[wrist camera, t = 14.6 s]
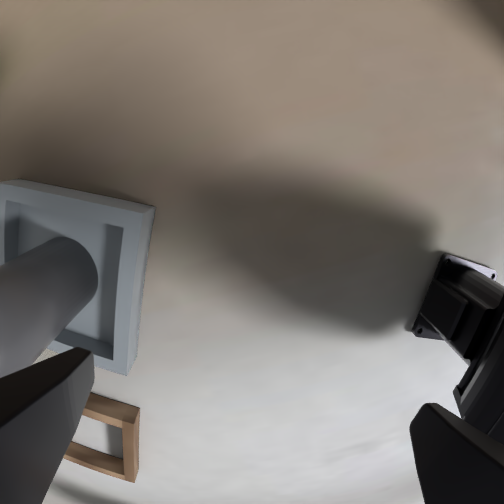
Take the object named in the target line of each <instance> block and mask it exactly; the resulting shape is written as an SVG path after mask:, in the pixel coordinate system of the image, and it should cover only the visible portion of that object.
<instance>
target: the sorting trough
mask: <svg viewBox="0 0 504 504" xmlns="http://www.w3.org/2000/svg"><path fill="white" fill-rule="evenodd" d="M155 209H156V207H154V206H150V205H145V204H141V203H136V202H131V201H127V200H122V199H117V198H112V197H108V196H103V195H98V194H93V193H88V192H83V191H79V190H74V189H69V188H64V187H59V186H54V185H49V184H43V183H38V182H33V181H28V180H23V179H14V180H8V181H2V182H0V266H1V265H3V264H5V263H6V262H8V261H10V260H12V259H14V258H16V257H18V256H19V255H21V254H23V253H25V252H27V251H29V250H31V249H33V248H35V247H37V246H39V245H41V244H43V243H45V242H47V241H49V240H51V239H53V238H56V237H68V238H71V239H73V240H76V241H77V242H79V243H80V244H81V245H83V246H84V247H85V248H86V250H87V251H88V252H89V253H90V255H91V257H92V258H93V260H94V262H95V265H96V268H97V272H98V287H97V291H96V294H95V296H94V297H93V299H92V300H91V301H90V302H89V303H88V304H87V305H86V306H85V307H84V308H83V309H82V310H81V311H80V312H79V313H78V314H77V316H76V317H75V318H74V319H73V320H72V321H71V322H70V323H69V324H68V325H67V326H66V327H65V328H64V329H63V330H62V331H61V333H60V334H59V335H58V336H57V337H56V338H55V339H54V340H53V341H52V342H51V343H50V345H49V346H48V347H47V349H50V350H52V351H55V352H57V353H63V352H65V351H67V350H70V349H72V348H75V347H82V348H85V349H88V350H90V351H92V352H93V355H94V366H96V367H99V368H102V369H105V370H109V371H112V372H115V373H118V374H122V375H125V376H127V375H128V373H129V371H130V369H131V367H132V365H133V363H134V361H135V359H136V357H137V346H138V334H139V324H140V314H141V304H142V296H143V287H144V279H145V272H146V265H147V258H148V251H149V244H150V238H151V232H152V226H153V220H154V214H155Z"/></svg>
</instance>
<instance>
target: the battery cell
mask: <svg viewBox="0 0 504 504" xmlns="http://www.w3.org/2000/svg"><path fill="white" fill-rule="evenodd" d="M97 287H98V272H97V268H96V265H95V262H94V260H93V258H92V257H91V255H90V253H89V252H88V251H87V250H86V248H85V247H84V246H83V245H81V244H80V243H79V242H77V241H76V240H73V239H71V238H68V237H56V238H53V239H51V240H49V241H47V242H45V243H43V244H41V245H39V246H37V247H35V248H33V249H31V250H29V251H27V252H25V253H23V254H21V255H19V256H18V257H16V258H14V259H12V260H10V261H8V262H6V263H5V264H3V265H1V266H0V378H1V377H4V376H6V375H9V374H11V373H14V372H16V371H19V370H21V369H24V368H26V367H29V366H31V365H32V364H33V362H34V361H35V360H36V359H37V358H38V357H39V356H40V355H41V353H42V352H43V351H44V350H45V349H46V348H47V347H48V346H49V345H50V343H51V342H52V341H53V340H54V339H55V338H56V337H57V336H58V335H59V334H60V333H61V331H62V330H63V329H64V328H65V327H66V326H67V325H68V324H69V323H70V322H71V321H72V320H73V319H74V318H75V317H76V316H77V314H78V313H79V312H80V311H81V310H82V309H83V308H84V307H85V306H86V305H87V304H88V303H89V302H90V301H91V300H92V299H93V297H94V296H95V294H96V291H97Z"/></svg>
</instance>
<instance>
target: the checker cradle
mask: <svg viewBox="0 0 504 504" xmlns="http://www.w3.org/2000/svg"><path fill="white" fill-rule="evenodd" d="M82 415H84V416H87V417H90V418H92V419H95V420H98V421H101V422H104V423H107V424H110V425H113V426H116V427H120V428H122V440H123V459H120V458H116V457H113V456H110V455H107V454H104V453H101V452H98V451H95V450H93V449H90V448H87V447H85V446H82V445H79V444H77V443H74V442H72V441H71V443H70V445H69V447H68V449H67V451H66V453H65V455H64V457H63V458H64V459H67V460H69V461H72V462H74V463H77V464H79V465H82V466H84V467H87V468H90V469H92V470H95V471H98V472H101V473H104V474H107V475H110V476H113V477H116V478H119V479H123V480H126V481H129V482H133V483H135V480H136V476H137V472H138V469H139V416H140V408H138V407H134V406H131V405H127V404H124V403H121V402H118V401H114V400H111V399H108V398H105V397H102V396H99V395H96V394H93V393H90V394H89V397H88V399H87V402H86V405H85V407H84V410H83V413H82Z"/></svg>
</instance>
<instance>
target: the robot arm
mask: <svg viewBox="0 0 504 504" xmlns="http://www.w3.org/2000/svg"><path fill="white" fill-rule="evenodd" d="M447 259H448V261H447V263H446V264H445V261H446V260H447ZM491 275H492V276H491ZM496 278H497V272H496V271H495V270H493V269H491V268H488V267H485V266H482V265H480V264H477V263H474V262H471V261H468V260H465V259H462V258H459V257H456V256H453V255H450V254H443V255H442V256H441V258H440V261H439V264H438V267H437V269H436V272H435V275H434V278H433V280H432V283H431V285H430V288H429V291H428V293H427V296H426V298H425V301H424V303H423V305H422V308H421V310H420V312H419V315H418V317H417V319H416V322H415V324H414V326H413V329H412V332H413V334H414V335H415V336H416V337H422V338H429V339H437V340H445V341H446V342H447V343H448V344H449V345H450V347H451V348H452V349H453V350H454V351H455V352H456V353H457V354H458V355H459V356H460V357H461V358H462V359H463V360H464V361H465V362H466V363H467V364H468V365H469V367H468V369H467V371H466V372H465V374H464V376H463V378H462V379H461V381H460V383H459V384H458V385H456V387H455V389H454V390H453V395H454V397H455V400H456V403H457V406H458V409H459V412H460V415H461V418H462V419H461V418H459V417H458V416H456V415H454V414H453V413H451V412H450V411H448V410H447V409H445V408H443V407H442V406H440V405H439V404H437V403H426V404H424V405H423V406H422V407H421V408H420V410H419V411H418V413H417V414H416V416H415V417H414V419H413V420H412V422H411V424H410V429H409V430H410V436H411V441H412V447H413V452H414V458H415V464H416V469H417V474H418V478H419V482H420V486H421V490H422V494H423V498H424V502H425V504H504V286H502V285H501V284H499V283H498V282H496V281H495V280H496ZM418 329H420V330H419V331H418ZM93 383H94V355H93V352H92V351H90V350H88V349H85V348H82V347H75V348H72V349H70V350H67V351H65V352H63V353H60V354H58V355H55V356H53V357H51V358H48V359H46V360H43V361H41V362H38V363H36V364H33V365H31V366H29V367H26V368H24V369H21V370H19V371H16V372H14V373H11V374H9V375H6V376H4V377H1V378H0V504H42V502H43V500H44V497H45V495H46V493H47V491H48V489H49V486H50V484H51V482H52V480H53V478H54V476H55V473H56V471H57V469H58V467H59V465H60V463H61V461H62V459H63V457H64V455H65V453H66V451H67V449H68V447H69V445H70V443H71V441H72V438H73V436H74V434H75V432H76V429H77V427H78V424H79V421H80V418H81V416H82V413H83V410H84V407H85V405H86V402H87V399H88V397H89V394H90V391H91V389H92V386H93Z"/></svg>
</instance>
